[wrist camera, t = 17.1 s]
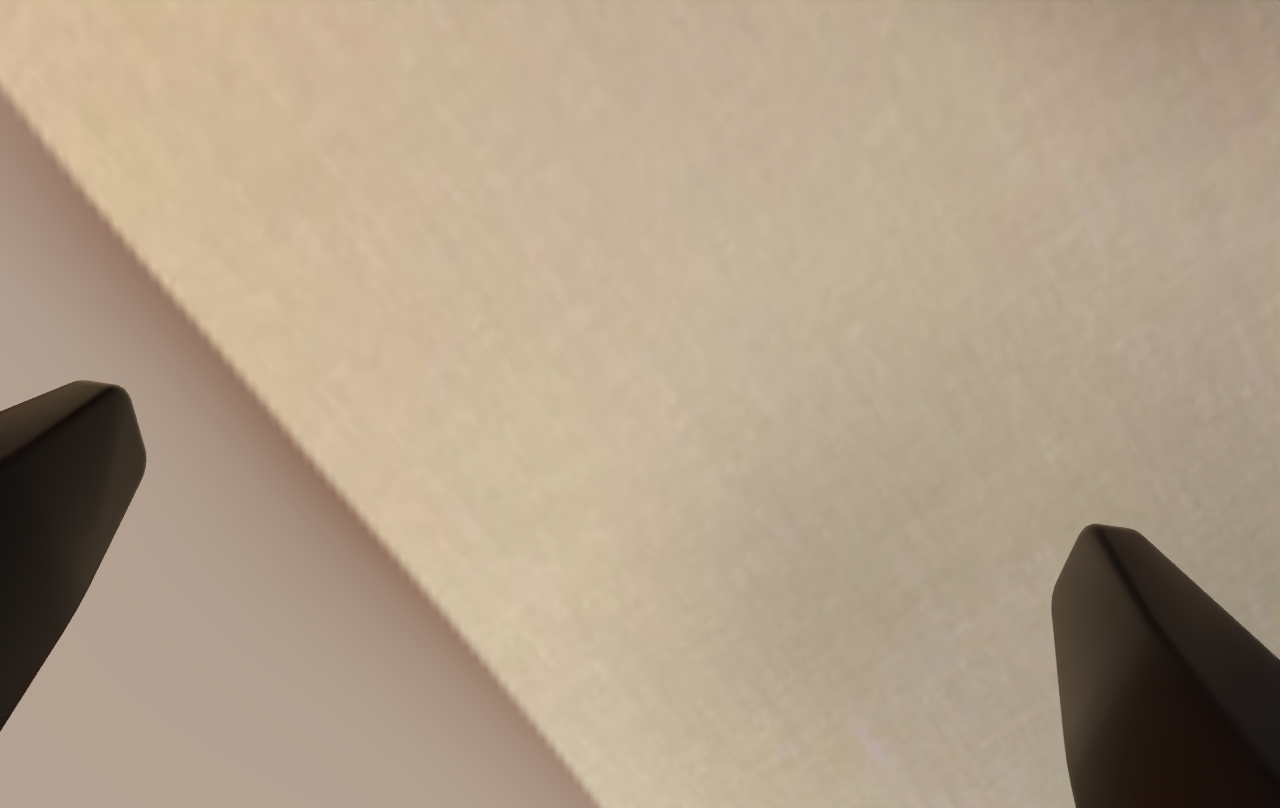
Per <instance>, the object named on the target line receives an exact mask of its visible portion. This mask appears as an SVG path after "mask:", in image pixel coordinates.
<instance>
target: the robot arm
mask: <svg viewBox="0 0 1280 808" xmlns="http://www.w3.org/2000/svg"><path fill="white" fill-rule="evenodd" d="M145 467H146V451H145V447H144V443H143V440H142V436H141V433H140V429H139V426H138V422H137V419H136V415H135V411H134V408H133V405H132V401H131V398H130V396H129V394H128V393H127V392H126V390H125V389H124V388H122V387H120V386H118V385H114V384H107V383H100V382H93V381H75V382H72V383H69V384H67V385H64V386H62V387H60V388H57V389H55V390H53V391H50V392H47V393H45V394H42V395H40V396H38V397H35V398H32V399H30V400H28V401H25V402H23V403H20V404H18V405H15V406H13V407H11V408H8V409H5V410H3V411H0V731H1V730H2V728H3V726H4V725H5V723H6V721H7V720H8V719H9V717H10V715H11V714H12V712H13V711H14V709H15V708H16V706H17V704H18V703H19V701H20V700H21V698H22V697H23V695H24V693H25V692H26V690H27V688H28V687H29V685H30V684H31V682H32V681H33V679H34V678H35V676H36V675H37V673H38V671H39V670H40V668H41V666H42V665H43V664H44V662H45V660H46V659H47V657H48V655H49V654H50V652H51V651H52V649H53V648H54V646H55V645H56V643H57V641H58V640H59V638H60V637H61V635H62V634H63V632H64V630H65V629H66V627H67V625H68V624H69V622H70V620H71V618H72V617H73V615H74V614H75V612H76V610H77V608H78V607H79V605H80V603H81V601H82V599H83V597H84V595H85V593H86V592H87V590H88V588H89V586H90V584H91V582H92V580H93V578H94V576H95V574H96V572H97V569H98V568H99V566H100V563H101V561H102V559H103V557H104V555H105V553H106V551H107V549H108V547H109V545H110V543H111V541H112V539H113V537H114V535H115V533H116V531H117V529H118V527H119V525H120V523H121V521H122V519H123V517H124V515H125V513H126V511H127V508H128V506H129V504H130V502H131V500H132V498H133V496H134V494H135V492H136V490H137V488H138V486H139V484H140V482H141V480H142V477H143V475H144V471H145ZM1051 608H1052V621H1053V631H1054V642H1055V652H1056V663H1057V673H1058V684H1059V694H1060V704H1061V715H1062V725H1063V736H1064V744H1065V752H1066V760H1067V766H1068V771H1069V776H1070V782H1071V787H1072V792H1073V796H1074V801H1075V806H1076V808H1280V660H1279V659H1278V658H1277V657H1276V656H1275V655H1274V654H1273V653H1272V652H1271V651H1269V650H1268V649H1267V648H1266V647H1265V646H1264V645H1263V644H1262V643H1261V642H1260V641H1258V640H1257V639H1256V638H1255V637H1254V636H1253V635H1252V634H1251V633H1250V632H1249V631H1247V630H1246V629H1245V628H1244V627H1243V626H1242V625H1241V624H1240V623H1239V622H1237V621H1236V620H1235V619H1234V618H1233V617H1232V616H1231V615H1230V614H1229V613H1228V612H1226V611H1225V610H1224V609H1223V608H1222V607H1221V606H1220V605H1219V604H1218V603H1217V602H1215V601H1214V600H1213V599H1212V598H1211V597H1210V596H1209V595H1208V594H1207V593H1206V592H1204V591H1203V590H1202V589H1201V588H1200V587H1199V586H1198V585H1197V584H1196V583H1194V582H1193V581H1192V580H1191V579H1190V578H1189V577H1188V576H1187V575H1186V574H1185V573H1183V572H1182V571H1181V570H1180V569H1179V568H1178V567H1177V566H1176V565H1175V564H1174V563H1172V562H1171V561H1170V560H1169V559H1168V558H1167V557H1166V556H1165V555H1164V554H1163V553H1161V552H1160V551H1159V550H1158V549H1157V548H1156V547H1155V546H1154V545H1153V544H1151V543H1150V542H1149V541H1148V540H1147V539H1146V538H1145V537H1144V536H1143V535H1141V534H1140V533H1139V532H1137V531H1135V530H1133V529H1129V528H1123V527H1116V526H1109V525H1102V524H1091V525H1088V526H1086V527H1085V528H1084V529H1083V530H1082V531H1081V533H1080V534H1079V536H1078V538H1077V540H1076V542H1075V544H1074V546H1073V549H1072V551H1071V553H1070V555H1069V557H1068V559H1067V561H1066V563H1065V565H1064V567H1063V569H1062V571H1061V574H1060V576H1059V578H1058V580H1057V582H1056V584H1055V587H1054V591H1053V595H1052V607H1051Z"/></svg>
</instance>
